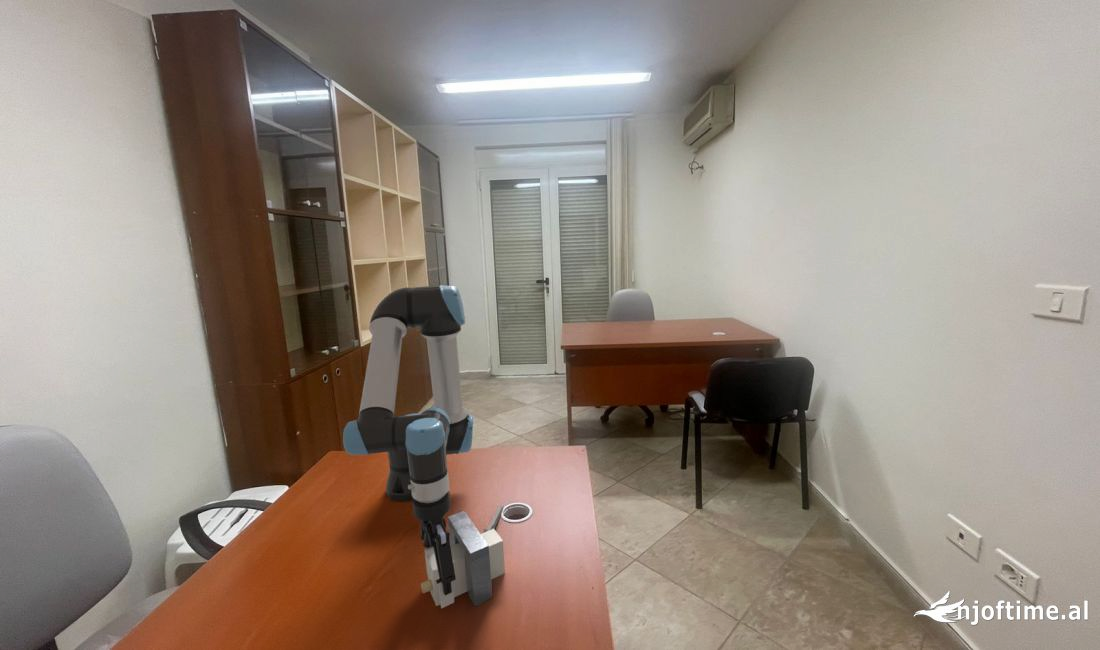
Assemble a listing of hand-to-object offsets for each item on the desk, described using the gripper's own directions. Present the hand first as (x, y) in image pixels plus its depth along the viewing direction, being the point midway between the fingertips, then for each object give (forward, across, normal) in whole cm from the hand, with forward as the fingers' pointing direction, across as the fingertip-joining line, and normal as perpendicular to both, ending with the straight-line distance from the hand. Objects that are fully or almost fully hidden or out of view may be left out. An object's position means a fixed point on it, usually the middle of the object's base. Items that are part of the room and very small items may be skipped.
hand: (440, 587), depth 89 cm
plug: (+2, 0, +6) cm, 7 cm away
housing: (+2, 0, +7) cm, 7 cm away
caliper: (+2, -13, +18) cm, 23 cm away
